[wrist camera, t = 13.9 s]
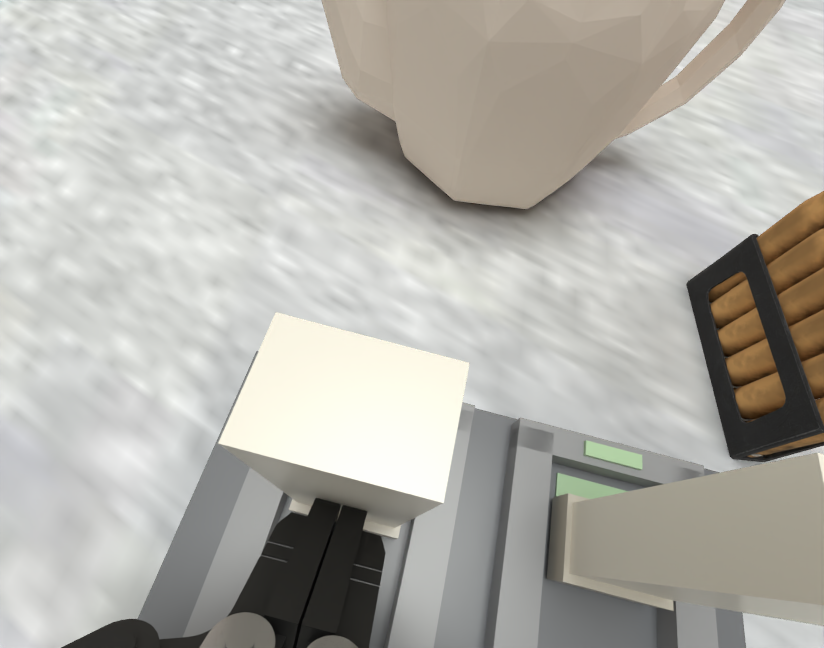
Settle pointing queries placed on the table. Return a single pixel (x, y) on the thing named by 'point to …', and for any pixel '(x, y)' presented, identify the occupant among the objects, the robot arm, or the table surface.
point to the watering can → (527, 80)
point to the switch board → (450, 549)
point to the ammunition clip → (767, 336)
